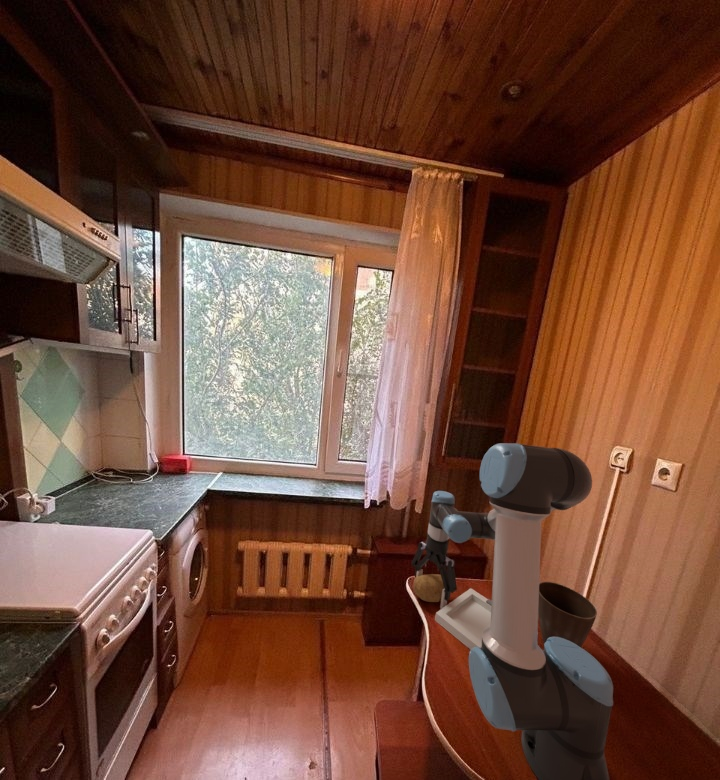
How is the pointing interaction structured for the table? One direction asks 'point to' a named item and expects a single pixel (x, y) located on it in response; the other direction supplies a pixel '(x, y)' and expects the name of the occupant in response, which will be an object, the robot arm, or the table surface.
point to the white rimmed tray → (466, 617)
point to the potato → (429, 587)
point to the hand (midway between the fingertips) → (429, 597)
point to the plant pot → (564, 613)
